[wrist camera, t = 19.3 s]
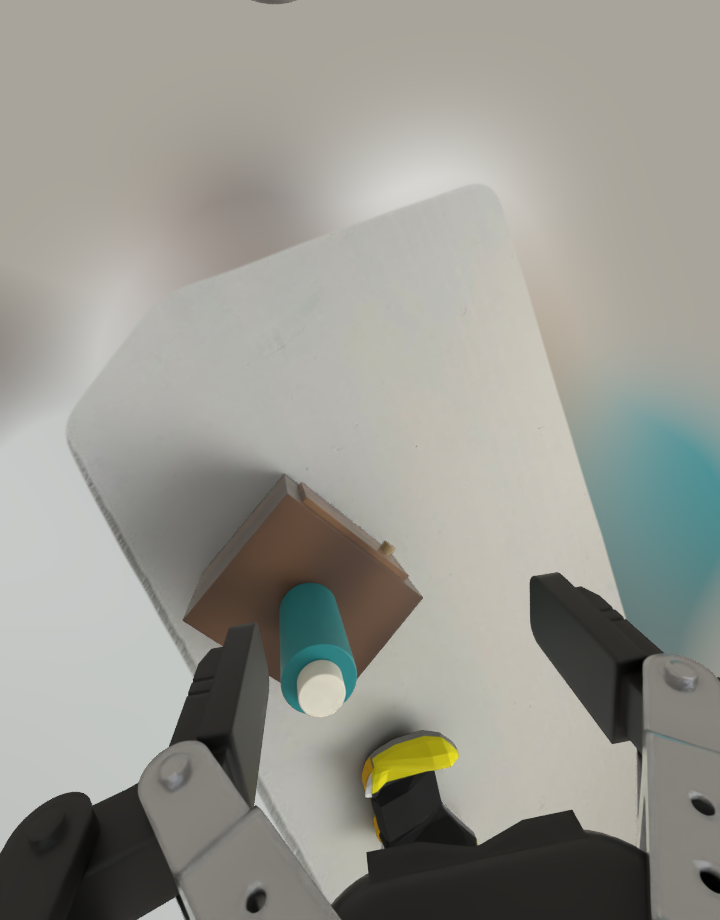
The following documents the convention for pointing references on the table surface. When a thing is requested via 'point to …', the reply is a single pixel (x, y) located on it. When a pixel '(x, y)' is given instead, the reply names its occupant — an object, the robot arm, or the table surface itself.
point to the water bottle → (314, 651)
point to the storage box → (303, 575)
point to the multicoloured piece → (413, 792)
